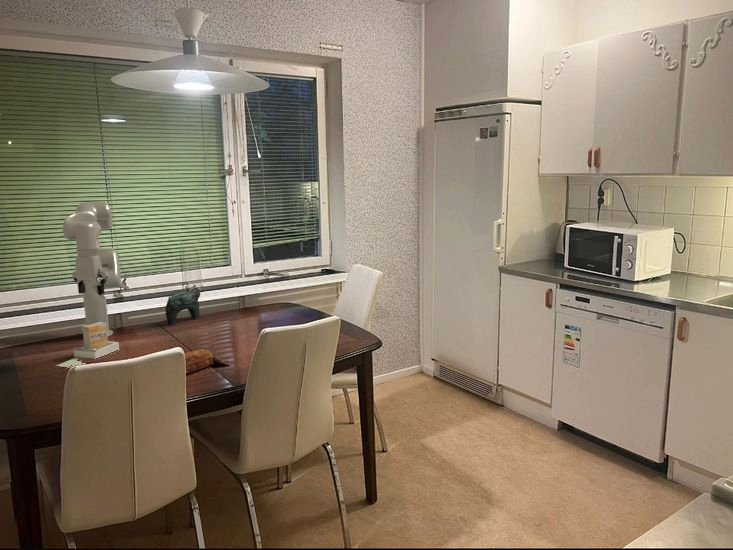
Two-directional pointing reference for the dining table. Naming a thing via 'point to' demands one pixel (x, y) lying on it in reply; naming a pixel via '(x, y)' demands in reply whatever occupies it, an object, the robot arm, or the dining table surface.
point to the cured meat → (200, 360)
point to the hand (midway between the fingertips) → (91, 293)
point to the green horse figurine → (183, 304)
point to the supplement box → (95, 336)
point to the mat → (71, 363)
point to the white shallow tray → (96, 351)
